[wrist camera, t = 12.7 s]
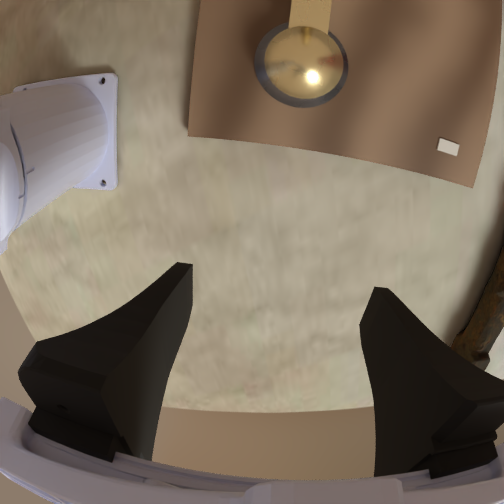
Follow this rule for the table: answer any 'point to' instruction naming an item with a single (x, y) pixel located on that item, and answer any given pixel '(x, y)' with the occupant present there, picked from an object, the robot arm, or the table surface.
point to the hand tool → (484, 321)
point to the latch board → (357, 82)
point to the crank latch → (305, 52)
